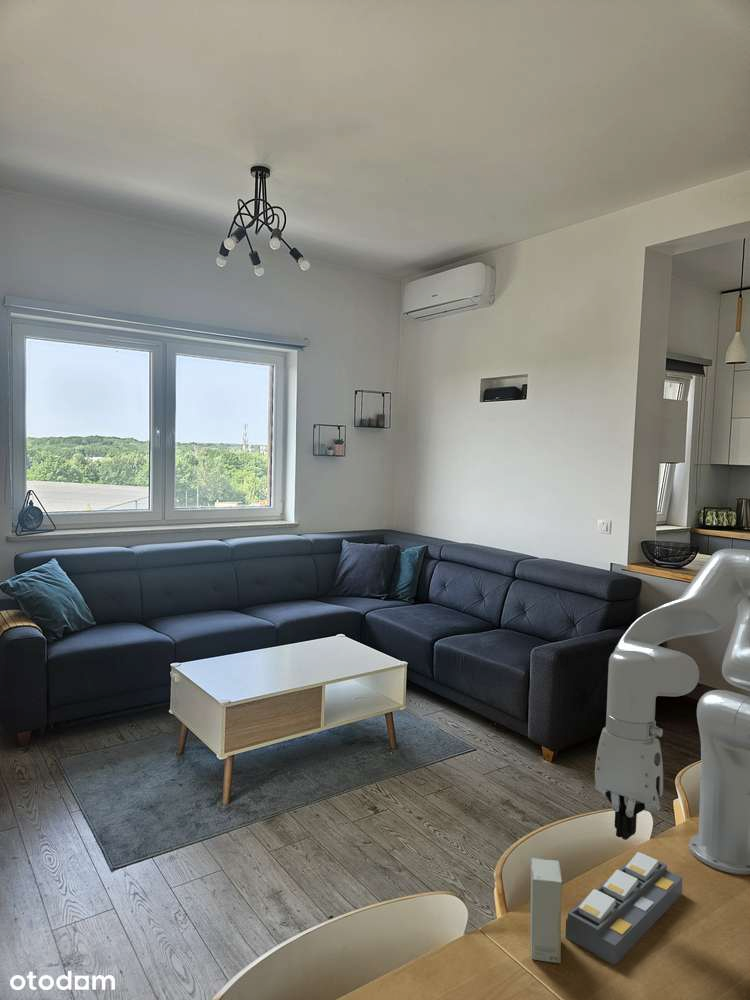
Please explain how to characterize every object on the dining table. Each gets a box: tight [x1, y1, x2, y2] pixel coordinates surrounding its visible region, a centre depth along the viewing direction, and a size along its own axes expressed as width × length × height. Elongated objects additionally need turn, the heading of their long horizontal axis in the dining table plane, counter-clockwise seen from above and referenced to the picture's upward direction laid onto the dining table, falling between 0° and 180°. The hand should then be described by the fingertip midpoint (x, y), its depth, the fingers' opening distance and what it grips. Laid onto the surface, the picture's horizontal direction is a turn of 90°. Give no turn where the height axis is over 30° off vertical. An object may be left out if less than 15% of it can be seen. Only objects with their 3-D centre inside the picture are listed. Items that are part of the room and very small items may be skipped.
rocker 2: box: [603, 869, 638, 901], centre depth 108 cm, size 5×4×1 cm
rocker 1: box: [579, 888, 616, 924], centre depth 102 cm, size 5×4×1 cm
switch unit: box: [565, 859, 683, 966], centre depth 107 cm, size 25×8×4 cm, turn 133°
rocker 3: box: [625, 851, 659, 881], centre depth 113 cm, size 5×4×1 cm
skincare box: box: [529, 857, 563, 964], centre depth 99 cm, size 6×4×12 cm
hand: (624, 835), depth 109 cm, fingers closed
